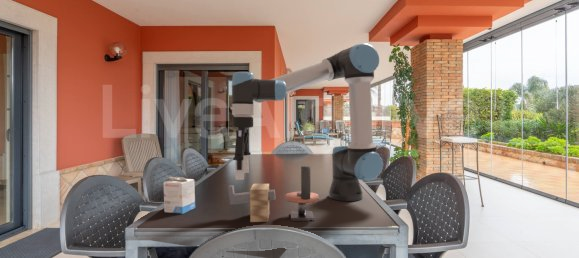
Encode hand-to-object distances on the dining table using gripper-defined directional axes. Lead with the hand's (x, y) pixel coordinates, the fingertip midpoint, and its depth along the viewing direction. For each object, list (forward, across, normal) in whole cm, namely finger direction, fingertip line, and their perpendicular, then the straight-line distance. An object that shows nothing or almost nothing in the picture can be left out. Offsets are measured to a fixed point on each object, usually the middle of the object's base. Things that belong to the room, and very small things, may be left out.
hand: (242, 175), depth 116 cm
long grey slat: (+9, 0, +4) cm, 10 cm away
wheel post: (+15, 0, +21) cm, 26 cm away
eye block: (+15, 0, +6) cm, 16 cm away
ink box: (+16, -10, -26) cm, 32 cm away
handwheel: (+8, 0, +21) cm, 23 cm away
